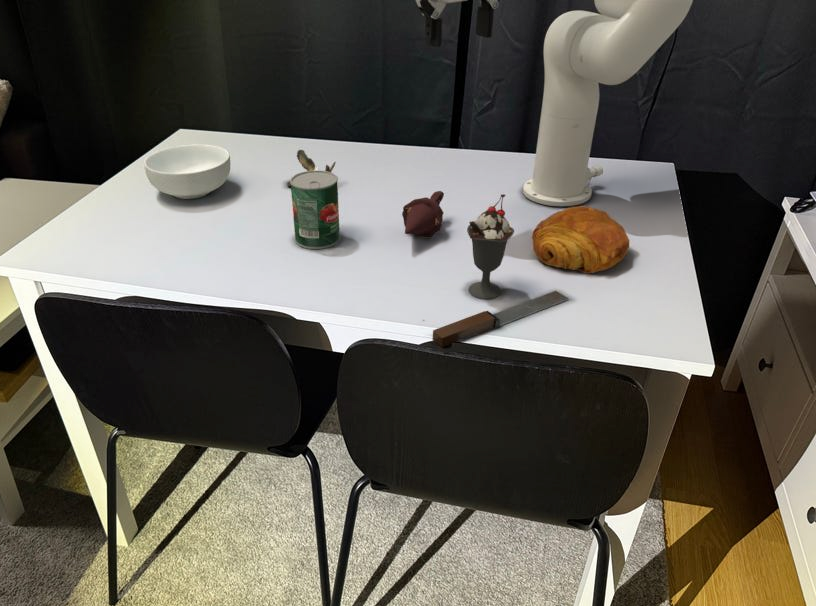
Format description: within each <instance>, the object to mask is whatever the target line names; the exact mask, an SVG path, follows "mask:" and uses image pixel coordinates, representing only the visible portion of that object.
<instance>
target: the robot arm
mask: <svg viewBox="0 0 816 606" xmlns="http://www.w3.org/2000/svg"><path fill="white" fill-rule="evenodd" d="M414 1H415V6H416V8H417V9H418V10H419V11H420V12H421V15H422V16H423V17H424V19H425V20H424V21H425V23H424V39H425V44H426V45H427V46H429V47H432V48H437V49H438V48H440V47H441V46H442V34H443V33H442V32H443V19H442V18H441V17H440V15H441V14H442V12H443V10H444V9H445V7H446V5H447V4H452V3H459V2H466V1H467V0H414ZM477 1H478V2H479V4H480V6H477V10H476V21H475V35H477V36H478V37H483V38H487V39H489V38H492V36H493V27H494V26H493V25H494V14H495V10H496V9H498V7H499V2H500V0H477ZM593 1H594V2H593V3H594V6H595V8H596V10H597V12H598V13H596V12H592V11H587V10H580V9H579V10H570V11H567V12H564V13H563V14H561V15H559V16H558V17H557V18H555V19H554V20H553V21H552V23H551V24H550V25H549V27H548V29H547V31H546V33H545V37H544V42H543V67H544V68H543V69H544V84H543V97H542V104H541V112H540V119H539V126H538V127H539V128H538V135H537V143H536V150H535V158H534V166H533V172H532V178H530V179H528V180H526V181H525V182H524V184H523V185H522V194H523V195H524V196H525V198H527V199H528V200H530V201H532V202H534V203H537V204H540V205H543V206H544V205H545V206H550V207H575V206H579V205H582V204H584V203H586V202H588V201H590V199H591V197H592V193H593V189H592V187H591V186H590V185H589V181H591V179H592V178H594V179H595V178H597V177H600V176H602V175H603V174H604V168H603V167H602V165H596V166H592V167H589V162H590V161H589V160H590V155H591V151H592V150H591V149H592V143H593V140H594V139H593V138H594V133H595V127H596V121H597V115H598V110H599V105H600V84H602V85H606V86H617V85H619V84H622V83H624V82H626V81H628V80H629V79H630V78H632V77H633V76H634V75H635V74H636V73H638V72H639V70H640V69H641V68H642V67H643V66H644V65H645V64H646V63H647V62H648V61H649V60H650V58H652V56H653V55H654V54H655V53H656V52H657V51H658V50H659V49H660V48H661V46H662V45H664V43H665V42H666V41H667V40H668V39H669V38H670V37H671V36H672V34H673V33H674V32H675V31H676V30H677V29H678V28H679V26H680V25H682V23H683V21H684V20H685V18H686V16H687V15H688V13H689V11H690V9H691V7H692V4H693V1H694V0H593Z"/></svg>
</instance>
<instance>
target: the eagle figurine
mask: <svg viewBox="0 0 816 606" xmlns="http://www.w3.org/2000/svg"><path fill="white" fill-rule="evenodd" d="M296 158H297V160H298V163H299V164H300V165H301V167H302V168H303V169H305V170H306V171H315V170H319V171H320V167H319V165H318V166H317V167H316V164H315V162H314V160H313V159H312V158H310V157H308V155H307V154H306V152H305V150H303V149H298V150H297V152H296ZM335 166H336V161H334V162H333V163H332V164H331V166H330V165H329V164H326V165H325V169H324V171H327V172H331V173H332V171H333V169H334V167H335ZM286 187H291V183H290V180H288V182H287V183H286Z"/></svg>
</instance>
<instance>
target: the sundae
mask: <svg viewBox="0 0 816 606" xmlns="http://www.w3.org/2000/svg"><path fill="white" fill-rule="evenodd" d="M505 197H506V194H500V197H499V200H498V201H497V203H495V204H494V205H493V206H492V205H490V206H488V207H487V210H485V211H484V212H481V214H479V216H478V217H477V220H475V221H473V220H472V221H469V224H468V226H467V227H466V228H467V229H466V232H467V235H468V236H469V239H470V240H471V243H472V245H471V246H472V258H473V264H474V265H475V267H476V268H477V269H478V270H480V271H481V272H482V275H481V276H482V277H481V280H480V281H477V282H474V283H473V282H472V283H471V284H470V285H469V286H468V289H467V290H468V293H469V294H470V295H471V296H472V297H475V298H476V299H482V300H491V299H496V298H497V297H498V296H500V295H501V294H502V288H501V287H500V286H499V285H498V284H496V283H494V282H491V273H492V272H493V271H496V270H497V269H498V268H499V267H500V266H501V264H502V262H503V259H504V255H505V251H506V248H507V244H508V241H509V240H510V239H511V238H512V236H513V235H514V233H515V229H514V228H513V227H511V226H510V223H509V221H508V219H507V218H506V217H505V215H506V212H505V210H504V209H503V201H504V200H503V199H504V198H505ZM500 202H501V203H500ZM499 203H500V208H499V209H497V208H496V206H497V205H498V204H499Z"/></svg>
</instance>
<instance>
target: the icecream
mask: <svg viewBox="0 0 816 606" xmlns="http://www.w3.org/2000/svg"><path fill="white" fill-rule="evenodd" d="M444 197H445V194H444V191H442V190H438V191H435V192H433V193H432V194H431V196H430V197H421V198H415V199H413V200H411V201H410V202H409V203H407V204H405V205H404V206H403V207H402V210H403V211H402V212H401V215H402V218H403V226H404V227H405V228H404V234H405V235H413V236H414V237H416V238H425V239H430V238H433V236H435V235H436V234H437V233H438V232H441V229H442V226H443V221H444V219H443V216H444V210H443V209H442V207H441V206H440V204H441V202H442V201H443V199H444Z"/></svg>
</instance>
